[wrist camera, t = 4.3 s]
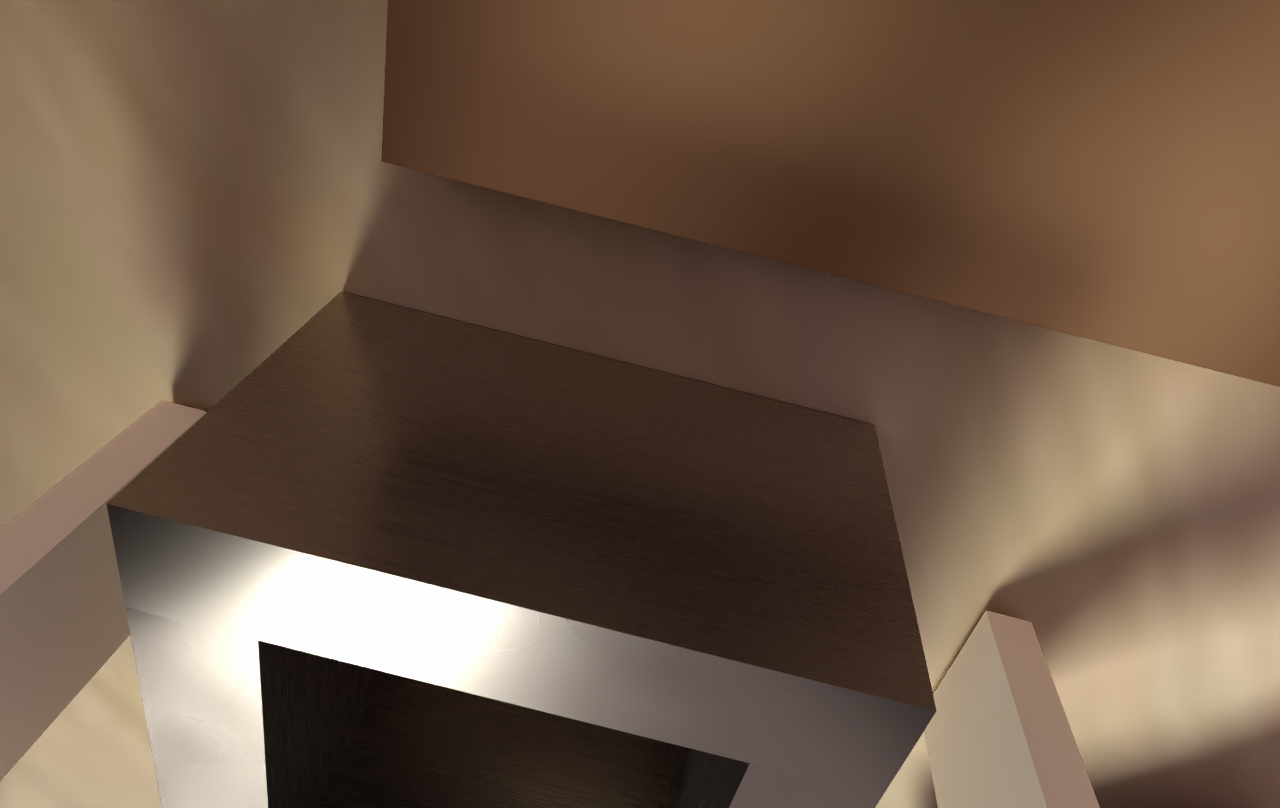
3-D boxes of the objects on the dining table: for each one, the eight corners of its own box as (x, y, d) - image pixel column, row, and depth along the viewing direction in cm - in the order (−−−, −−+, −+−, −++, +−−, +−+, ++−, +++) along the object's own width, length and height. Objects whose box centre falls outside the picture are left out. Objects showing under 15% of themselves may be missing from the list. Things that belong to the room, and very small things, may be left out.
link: (335, 654, 16) (182, 921, 12) (341, 291, 12) (105, 503, 8) (728, 752, 16) (717, 1054, 12) (874, 424, 12) (936, 711, 8)
